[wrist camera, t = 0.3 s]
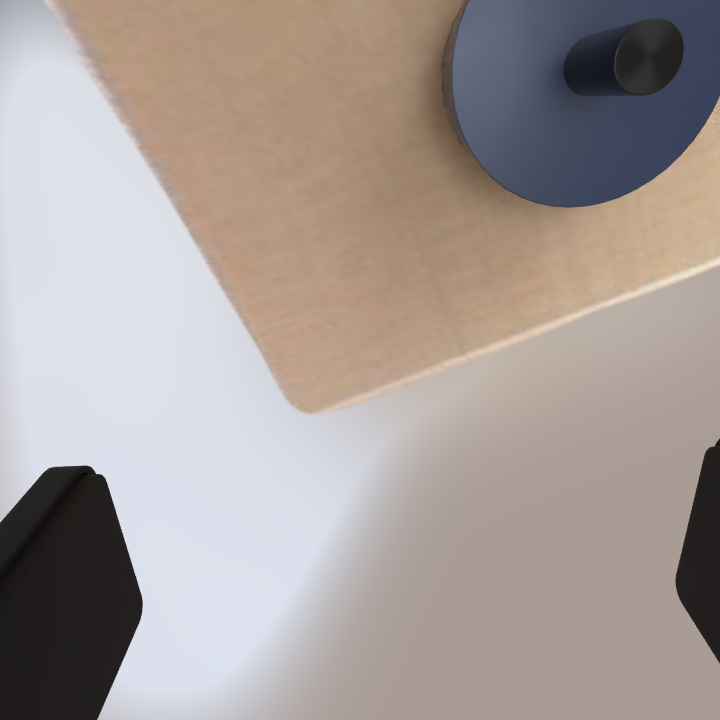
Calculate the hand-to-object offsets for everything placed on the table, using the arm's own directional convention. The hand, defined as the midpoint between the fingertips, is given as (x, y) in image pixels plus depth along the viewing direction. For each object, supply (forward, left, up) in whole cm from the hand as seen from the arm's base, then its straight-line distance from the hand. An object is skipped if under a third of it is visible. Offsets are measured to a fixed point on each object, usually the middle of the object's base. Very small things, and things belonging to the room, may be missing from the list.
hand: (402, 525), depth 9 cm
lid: (-12, +3, -24) cm, 27 cm away
